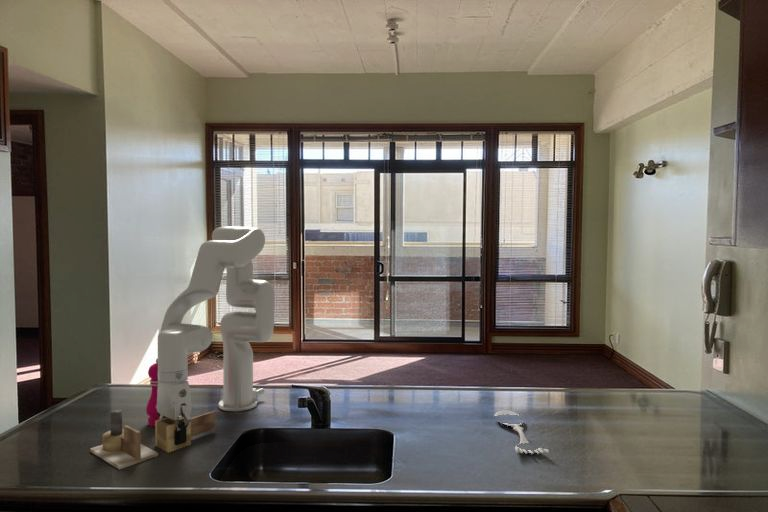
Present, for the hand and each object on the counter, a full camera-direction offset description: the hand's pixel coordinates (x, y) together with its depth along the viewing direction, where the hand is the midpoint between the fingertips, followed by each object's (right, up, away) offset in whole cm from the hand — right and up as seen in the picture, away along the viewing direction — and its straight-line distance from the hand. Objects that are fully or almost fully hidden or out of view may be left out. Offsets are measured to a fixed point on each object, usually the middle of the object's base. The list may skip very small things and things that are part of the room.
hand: (173, 439), depth 143 cm
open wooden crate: (+3, -2, +4) cm, 5 cm away
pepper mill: (-11, -1, +16) cm, 19 cm away
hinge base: (-11, -2, -5) cm, 12 cm away
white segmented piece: (+97, -3, +11) cm, 97 cm away
